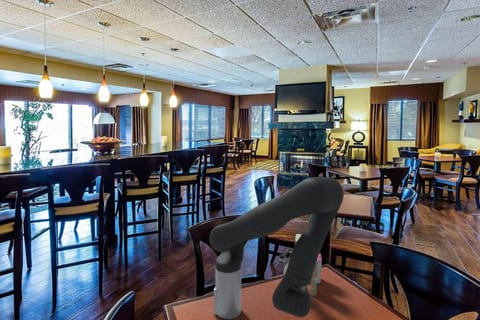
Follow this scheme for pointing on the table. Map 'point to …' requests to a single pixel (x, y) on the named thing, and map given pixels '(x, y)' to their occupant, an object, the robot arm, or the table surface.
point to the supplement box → (319, 269)
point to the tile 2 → (314, 282)
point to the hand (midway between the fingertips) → (298, 250)
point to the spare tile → (297, 237)
